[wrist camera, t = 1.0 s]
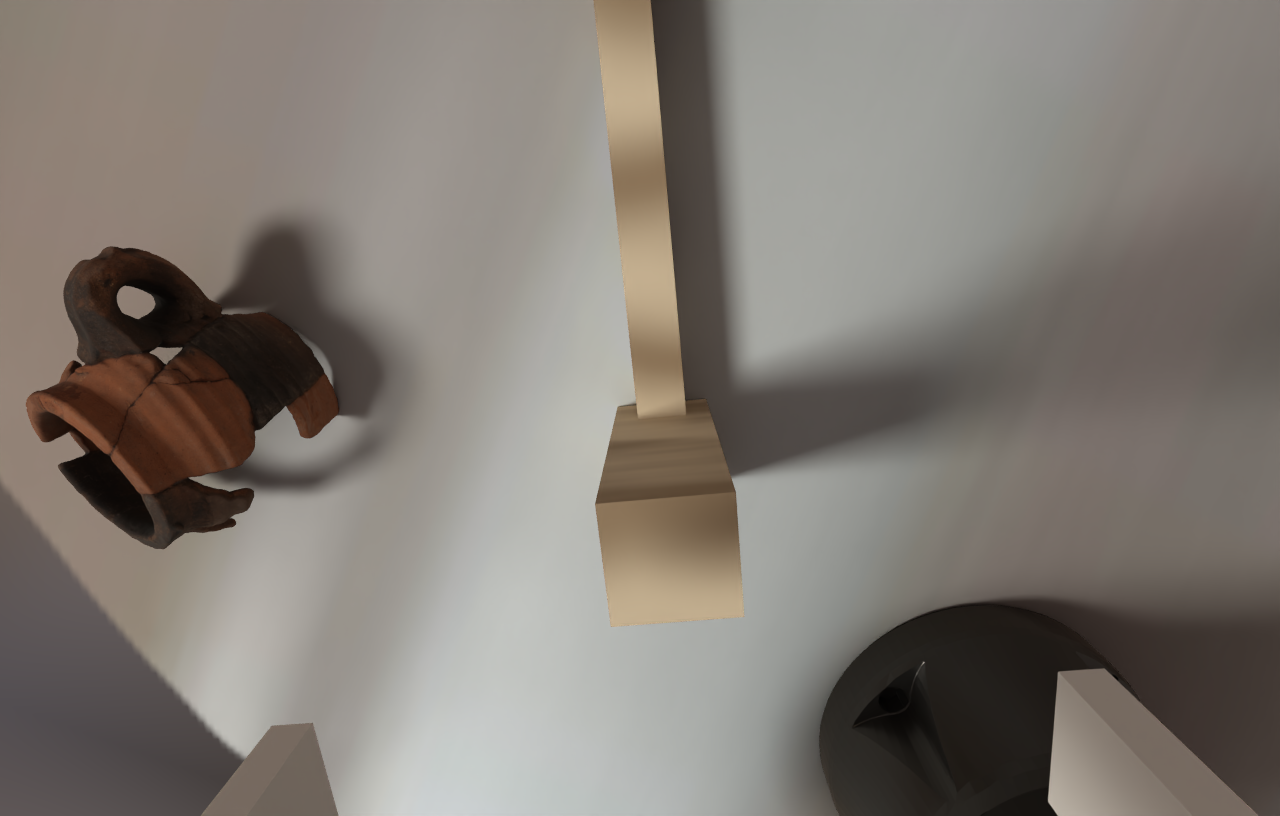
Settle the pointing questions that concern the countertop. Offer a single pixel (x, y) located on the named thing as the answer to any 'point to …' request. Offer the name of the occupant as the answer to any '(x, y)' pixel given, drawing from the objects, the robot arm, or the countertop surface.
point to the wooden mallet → (656, 379)
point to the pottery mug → (170, 396)
